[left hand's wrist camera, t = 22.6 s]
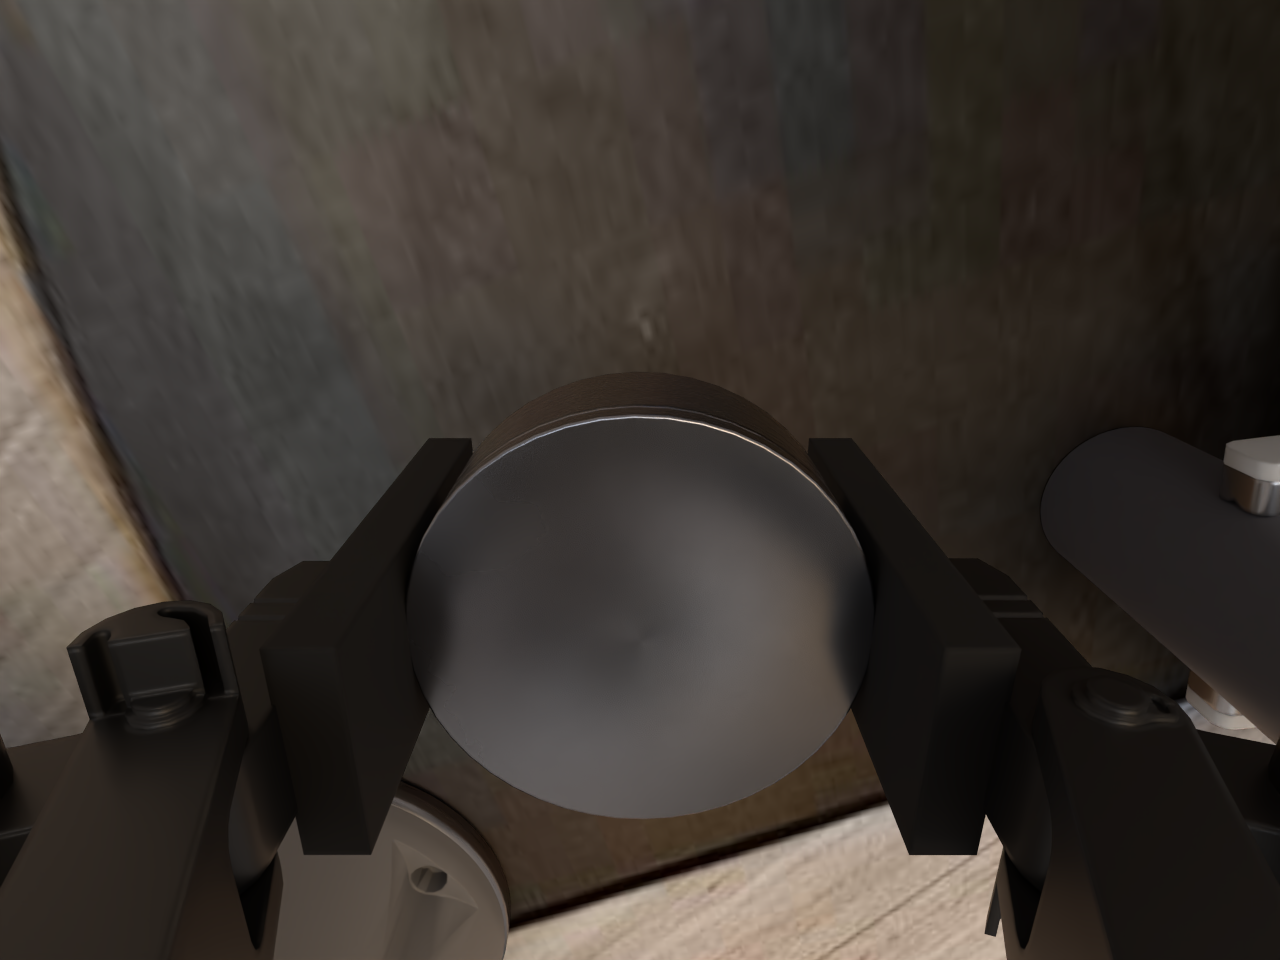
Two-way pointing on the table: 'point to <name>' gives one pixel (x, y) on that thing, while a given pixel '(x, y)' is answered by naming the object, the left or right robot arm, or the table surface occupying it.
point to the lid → (640, 600)
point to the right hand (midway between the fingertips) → (1217, 593)
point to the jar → (1176, 558)
